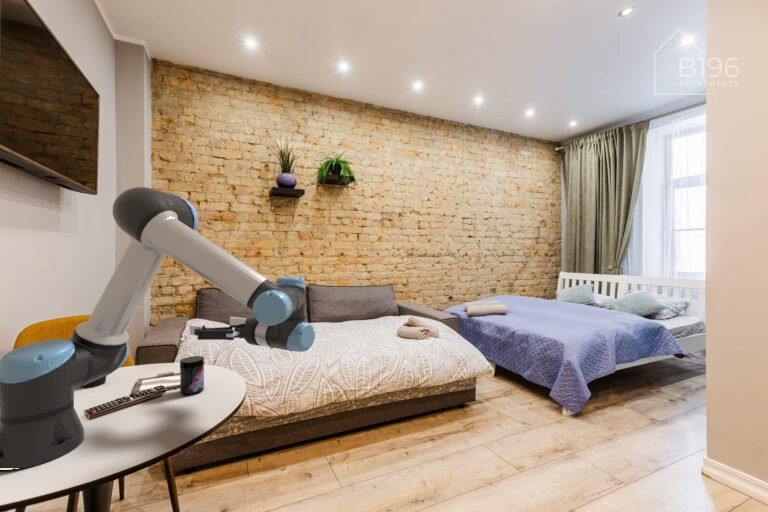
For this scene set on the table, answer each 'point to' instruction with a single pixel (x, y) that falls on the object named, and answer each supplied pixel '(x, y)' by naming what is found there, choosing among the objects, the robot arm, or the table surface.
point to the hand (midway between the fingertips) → (211, 325)
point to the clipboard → (158, 382)
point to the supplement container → (191, 375)
